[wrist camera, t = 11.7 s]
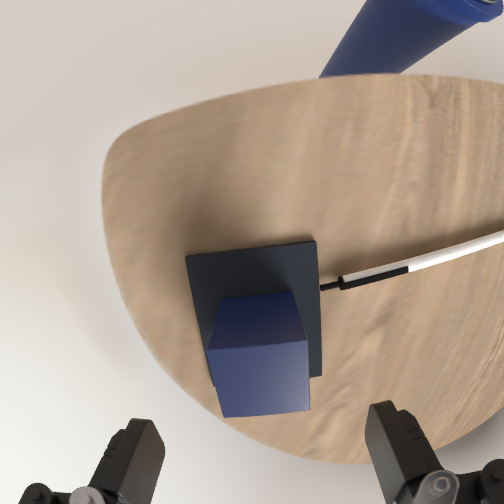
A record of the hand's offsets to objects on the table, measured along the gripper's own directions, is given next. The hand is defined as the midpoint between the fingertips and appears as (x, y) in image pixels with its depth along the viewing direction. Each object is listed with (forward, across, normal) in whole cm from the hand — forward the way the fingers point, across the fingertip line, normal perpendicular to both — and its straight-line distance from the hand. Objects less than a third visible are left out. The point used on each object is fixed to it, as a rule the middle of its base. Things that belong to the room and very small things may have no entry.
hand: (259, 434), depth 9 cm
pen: (+10, -13, -3) cm, 17 cm away
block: (+10, 0, +1) cm, 10 cm away
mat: (+10, 0, 0) cm, 10 cm away
